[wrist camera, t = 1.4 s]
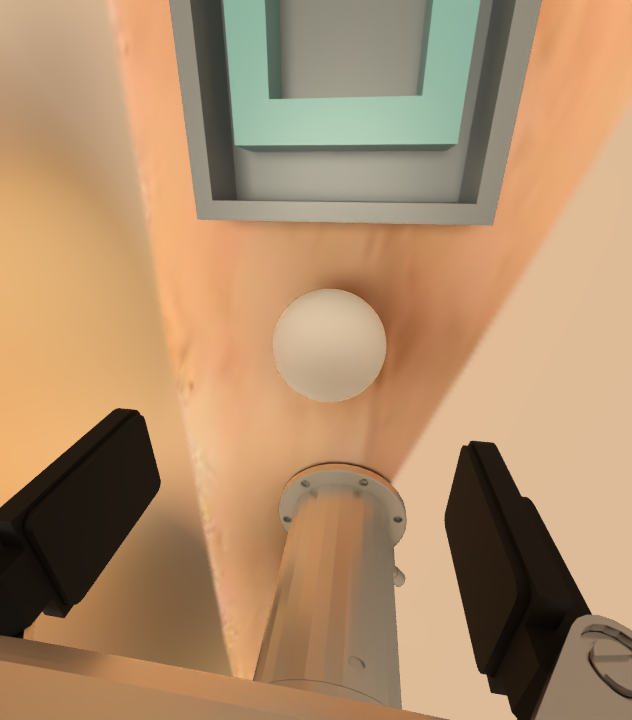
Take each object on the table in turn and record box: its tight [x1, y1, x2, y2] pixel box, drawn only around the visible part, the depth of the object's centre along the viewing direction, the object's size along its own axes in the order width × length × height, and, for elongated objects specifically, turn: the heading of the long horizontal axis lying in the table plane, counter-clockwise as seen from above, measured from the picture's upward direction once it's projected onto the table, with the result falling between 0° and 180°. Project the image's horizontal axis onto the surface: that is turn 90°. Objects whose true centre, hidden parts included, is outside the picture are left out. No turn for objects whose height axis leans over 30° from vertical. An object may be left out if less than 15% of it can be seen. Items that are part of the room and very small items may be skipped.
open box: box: [169, 0, 542, 226], centre depth 17 cm, size 19×16×5 cm
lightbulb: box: [272, 289, 386, 402], centre depth 21 cm, size 6×6×11 cm
